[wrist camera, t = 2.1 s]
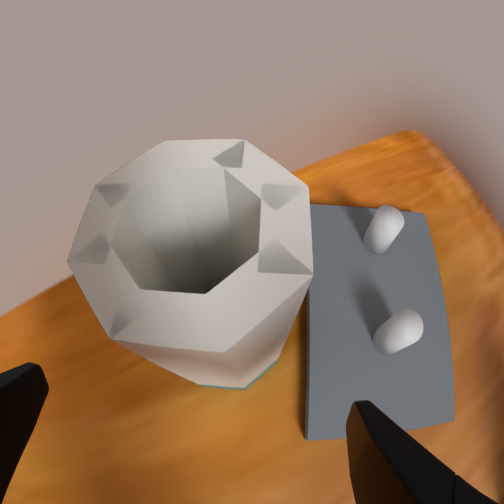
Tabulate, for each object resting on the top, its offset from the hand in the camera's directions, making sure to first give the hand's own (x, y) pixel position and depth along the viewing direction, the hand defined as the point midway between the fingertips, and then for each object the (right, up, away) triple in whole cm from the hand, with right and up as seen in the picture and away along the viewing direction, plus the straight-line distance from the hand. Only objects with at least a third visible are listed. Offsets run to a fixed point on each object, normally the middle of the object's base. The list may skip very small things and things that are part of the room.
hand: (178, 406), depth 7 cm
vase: (0, -2, +12) cm, 12 cm away
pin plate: (+10, 0, +12) cm, 16 cm away
